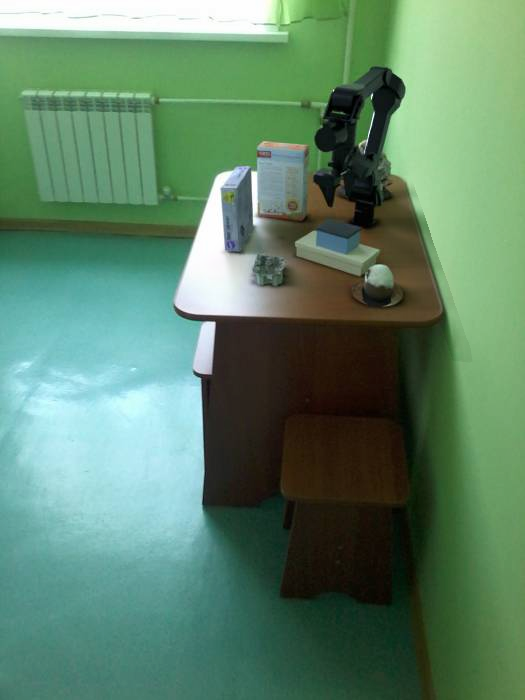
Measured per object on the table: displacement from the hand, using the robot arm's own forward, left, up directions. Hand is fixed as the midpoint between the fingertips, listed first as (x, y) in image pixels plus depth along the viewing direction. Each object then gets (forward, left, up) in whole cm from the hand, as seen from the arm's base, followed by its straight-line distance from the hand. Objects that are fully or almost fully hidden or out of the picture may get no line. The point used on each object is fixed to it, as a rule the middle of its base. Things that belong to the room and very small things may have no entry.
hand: (339, 201), depth 163 cm
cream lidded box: (+8, +5, -12) cm, 16 cm away
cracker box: (-7, -23, -12) cm, 27 cm away
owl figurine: (-36, -12, -12) cm, 40 cm away
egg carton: (+26, -4, -12) cm, 29 cm away
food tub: (+8, +5, -8) cm, 13 cm away
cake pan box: (+13, -24, -12) cm, 30 cm away
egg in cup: (+18, +22, -12) cm, 31 cm away
